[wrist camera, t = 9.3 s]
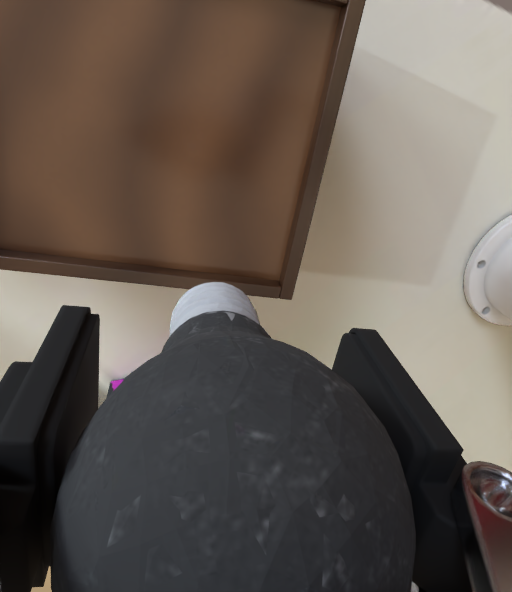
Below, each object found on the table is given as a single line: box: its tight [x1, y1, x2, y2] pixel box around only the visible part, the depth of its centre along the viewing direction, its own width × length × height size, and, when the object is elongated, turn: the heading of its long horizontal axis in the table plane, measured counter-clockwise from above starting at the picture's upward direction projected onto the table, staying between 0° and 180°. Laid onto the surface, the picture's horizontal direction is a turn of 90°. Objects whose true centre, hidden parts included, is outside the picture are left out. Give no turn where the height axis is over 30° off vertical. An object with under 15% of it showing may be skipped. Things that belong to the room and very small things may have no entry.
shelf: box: [0, 0, 366, 300], centre depth 27 cm, size 18×16×13 cm
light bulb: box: [50, 282, 416, 592], centre depth 9 cm, size 6×6×10 cm
